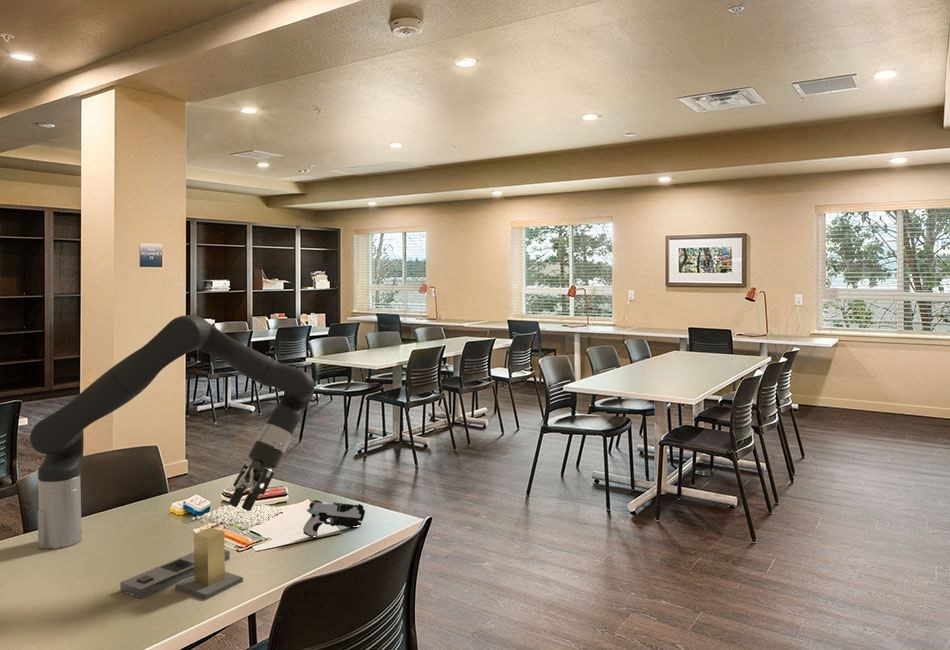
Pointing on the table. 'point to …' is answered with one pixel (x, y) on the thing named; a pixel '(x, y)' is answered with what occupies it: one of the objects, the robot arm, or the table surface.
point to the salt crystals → (242, 514)
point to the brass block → (209, 556)
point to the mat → (207, 592)
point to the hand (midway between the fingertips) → (238, 507)
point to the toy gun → (332, 515)
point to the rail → (161, 576)
